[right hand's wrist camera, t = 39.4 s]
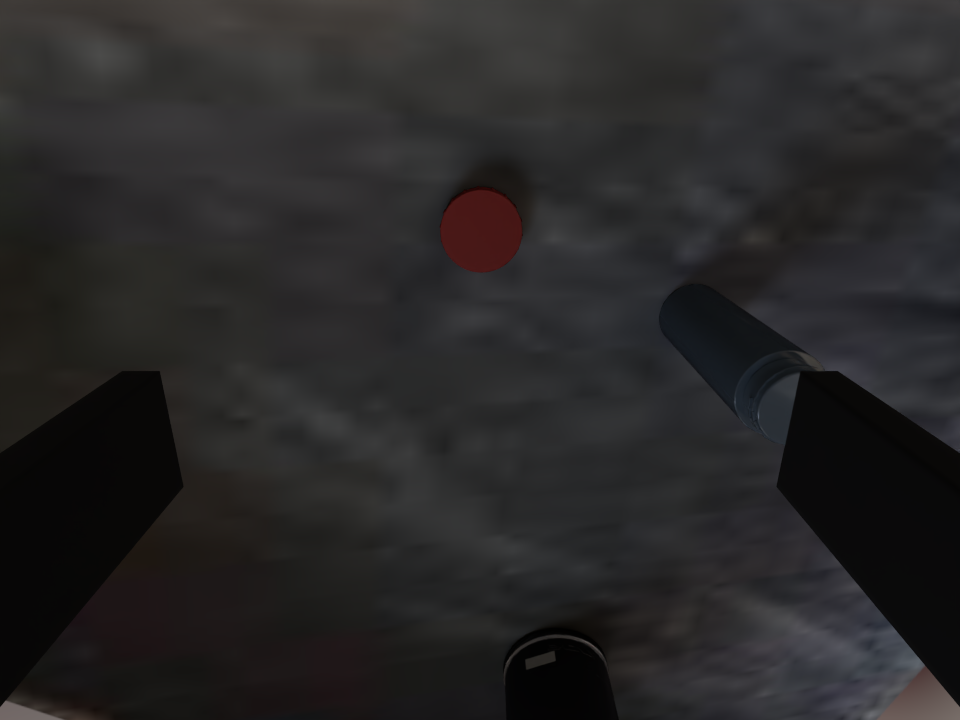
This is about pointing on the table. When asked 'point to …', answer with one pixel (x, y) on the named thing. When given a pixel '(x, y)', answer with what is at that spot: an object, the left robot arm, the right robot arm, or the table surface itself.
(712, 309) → the jar
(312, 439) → the table surface
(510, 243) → the lid
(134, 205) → the table surface
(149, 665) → the table surface
